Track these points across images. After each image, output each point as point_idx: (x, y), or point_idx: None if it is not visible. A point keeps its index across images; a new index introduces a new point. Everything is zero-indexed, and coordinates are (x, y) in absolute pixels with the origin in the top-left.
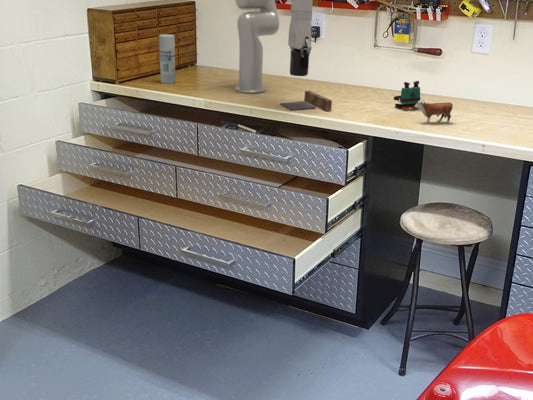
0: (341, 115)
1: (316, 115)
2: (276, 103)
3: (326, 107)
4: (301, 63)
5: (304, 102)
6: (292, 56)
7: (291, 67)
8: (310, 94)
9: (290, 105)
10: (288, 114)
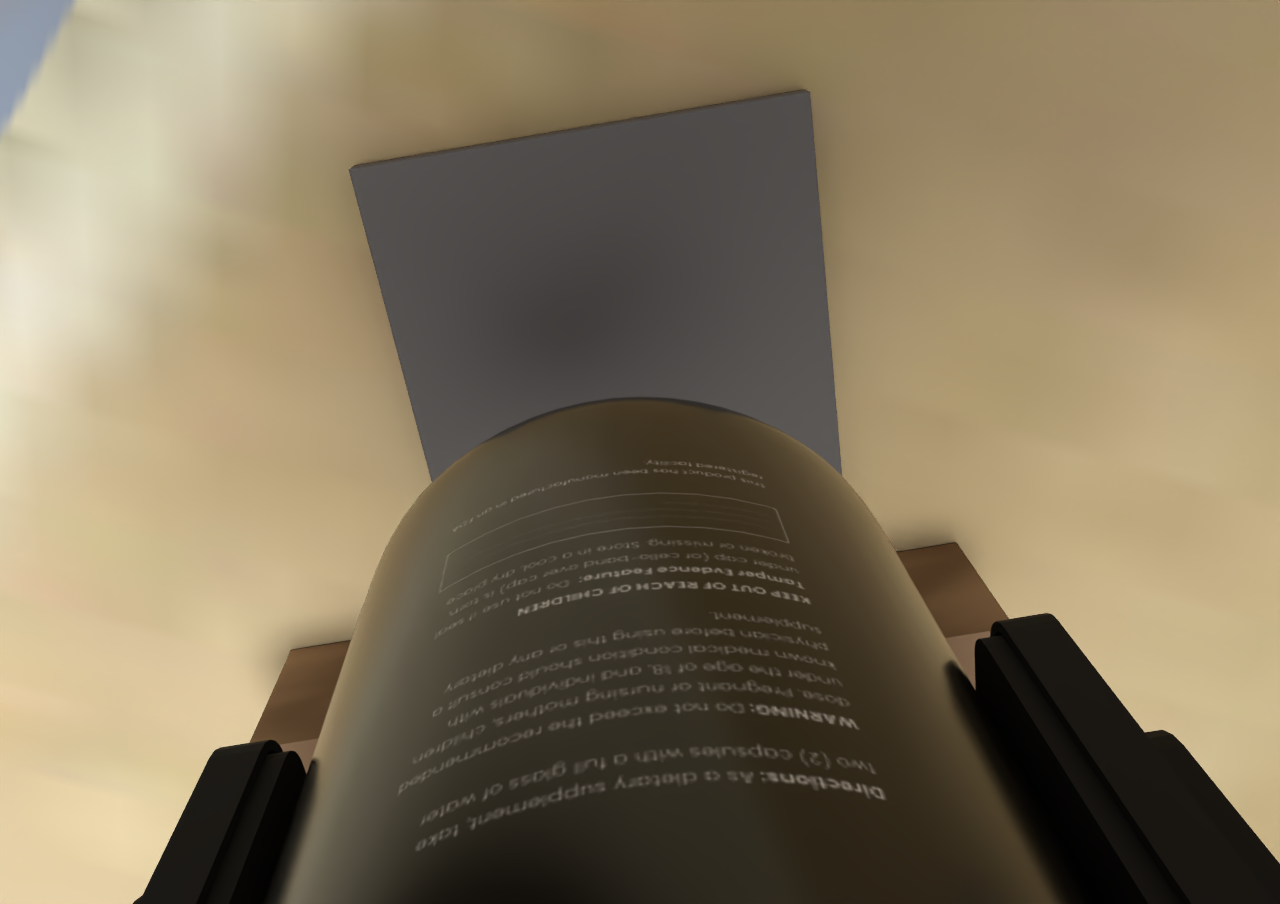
0: (72, 759)
1: (49, 463)
2: (914, 57)
3: (282, 682)
4: (168, 901)
5: None
6: (487, 837)
7: (553, 502)
8: None
9: (611, 232)
10: (88, 39)
